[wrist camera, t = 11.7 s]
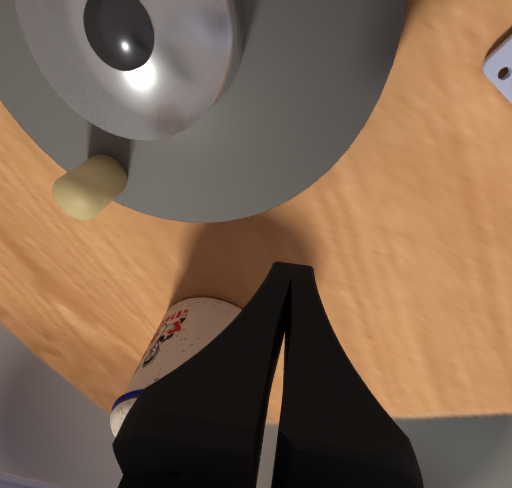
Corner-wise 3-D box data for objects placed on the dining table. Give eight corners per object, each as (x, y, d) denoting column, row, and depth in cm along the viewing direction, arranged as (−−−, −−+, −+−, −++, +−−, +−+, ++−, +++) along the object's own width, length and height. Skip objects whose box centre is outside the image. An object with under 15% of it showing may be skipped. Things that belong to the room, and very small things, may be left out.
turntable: (456, 115, 17) (496, 152, 13) (150, 246, 25) (115, 294, 21) (251, -667, 8) (175, -1300, 4) (-114, -79, 16) (-259, -104, 12)
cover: (277, 70, 15) (267, 85, 13) (142, 146, 18) (112, 170, 16) (172, -165, 12) (128, -208, 9) (27, -21, 15) (-35, -24, 12)
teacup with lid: (174, 275, 27) (88, 427, 17) (284, 319, 27) (260, 490, 18) (148, 360, 34) (77, 501, 24) (236, 394, 34) (200, 544, 25)
